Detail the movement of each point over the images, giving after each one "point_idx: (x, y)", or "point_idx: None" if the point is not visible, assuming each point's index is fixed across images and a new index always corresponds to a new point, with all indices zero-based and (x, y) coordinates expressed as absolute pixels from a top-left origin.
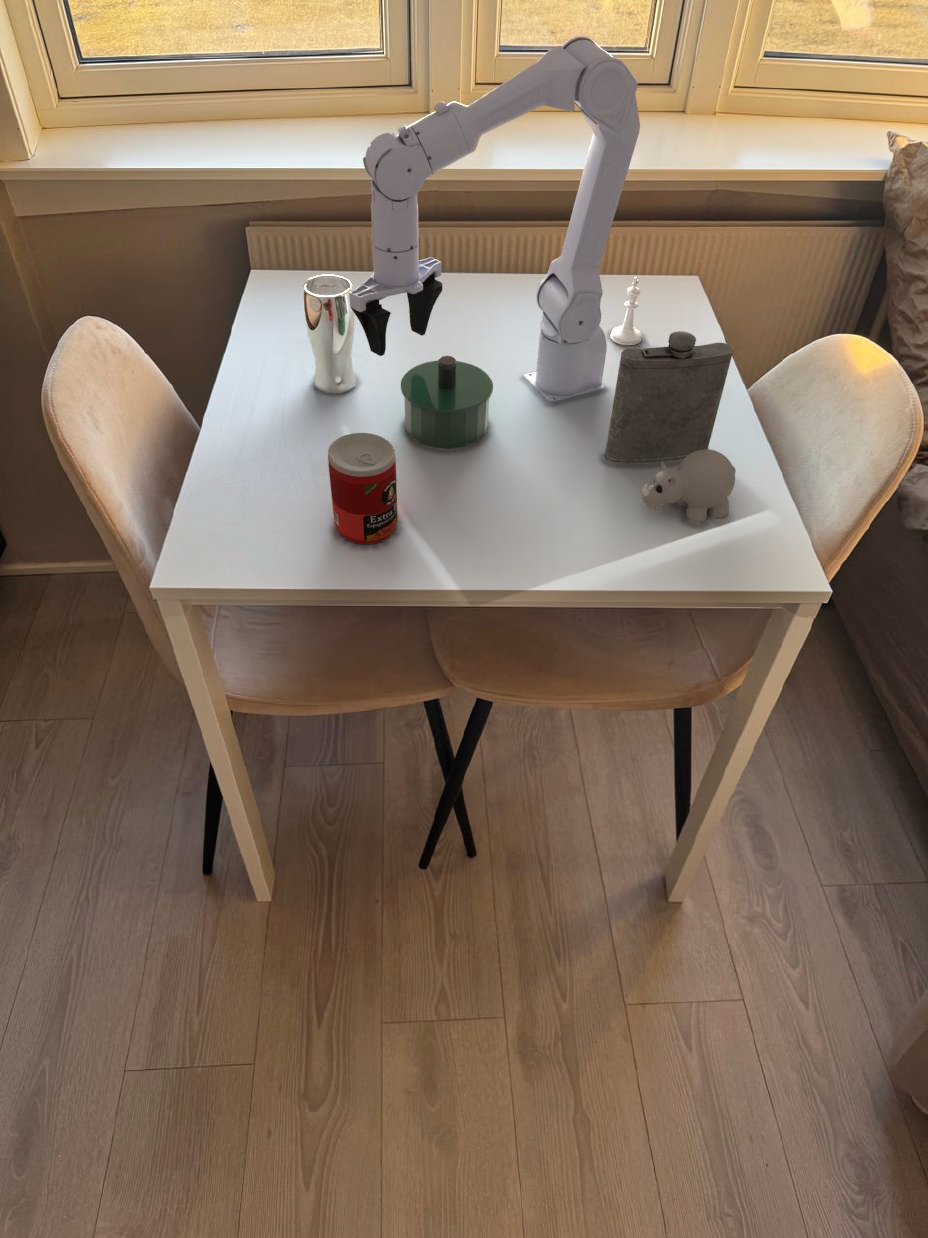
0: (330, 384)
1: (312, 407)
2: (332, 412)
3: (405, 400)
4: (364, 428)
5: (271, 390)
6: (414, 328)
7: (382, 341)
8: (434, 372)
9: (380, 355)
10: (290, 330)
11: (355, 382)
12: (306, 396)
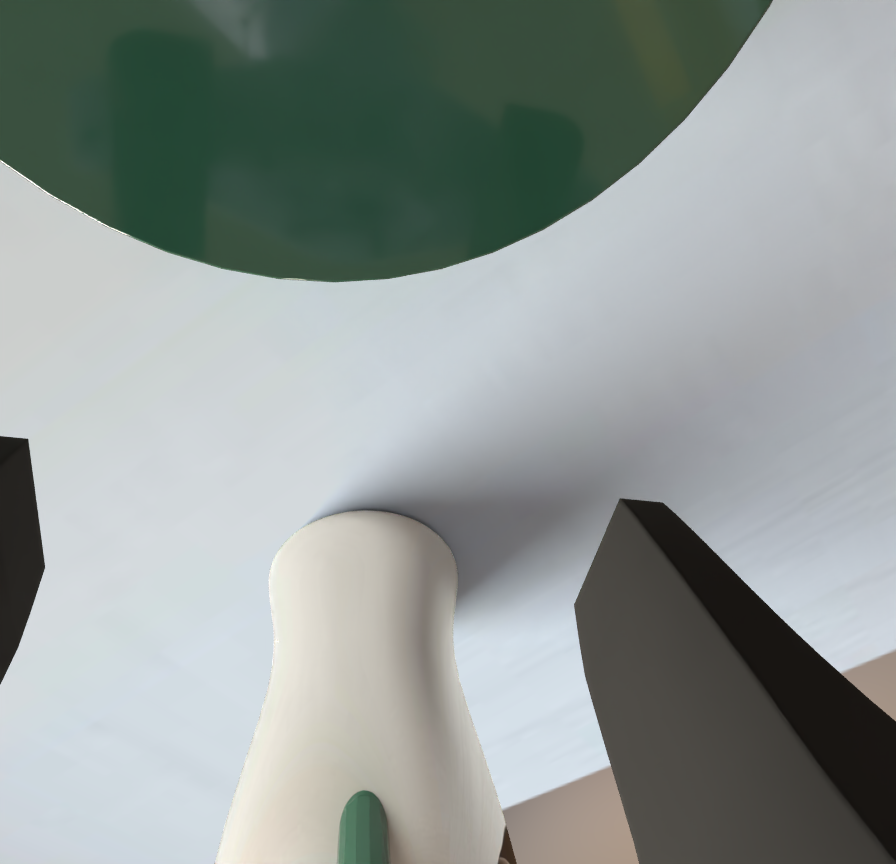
0: (447, 579)
1: (577, 536)
2: (569, 461)
3: None
4: (618, 271)
5: (552, 683)
6: (27, 563)
7: (765, 617)
8: (209, 45)
9: (668, 509)
10: (192, 834)
11: (315, 524)
12: (519, 592)
